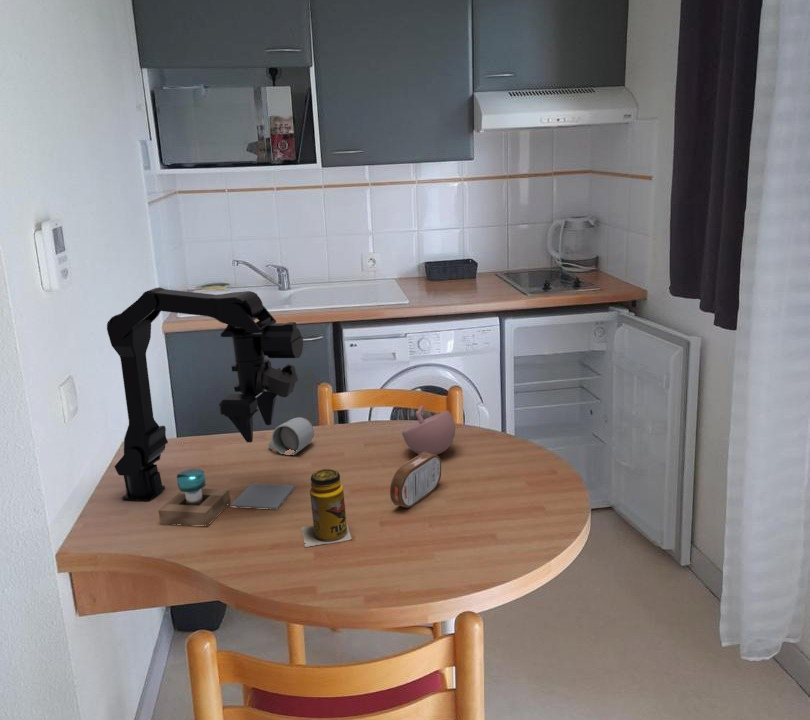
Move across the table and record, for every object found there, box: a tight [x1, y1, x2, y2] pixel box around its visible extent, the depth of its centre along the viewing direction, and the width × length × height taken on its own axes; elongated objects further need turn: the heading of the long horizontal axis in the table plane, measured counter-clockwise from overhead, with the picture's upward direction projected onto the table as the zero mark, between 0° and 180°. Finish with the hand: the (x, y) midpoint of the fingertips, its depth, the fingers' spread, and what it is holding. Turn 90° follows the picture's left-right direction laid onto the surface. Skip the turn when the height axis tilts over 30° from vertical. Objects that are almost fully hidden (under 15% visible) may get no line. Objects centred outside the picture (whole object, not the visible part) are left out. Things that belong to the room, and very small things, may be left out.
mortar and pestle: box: [401, 405, 456, 456], centre depth 168 cm, size 12×12×12 cm
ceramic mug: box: [267, 416, 315, 456], centre depth 177 cm, size 11×8×8 cm
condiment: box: [300, 468, 353, 548], centre depth 136 cm, size 7×8×12 cm
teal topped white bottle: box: [176, 468, 207, 506], centre depth 148 cm, size 5×5×8 cm
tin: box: [389, 452, 442, 509], centre depth 148 cm, size 15×3×8 cm, turn 145°
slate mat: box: [230, 483, 296, 509], centre depth 154 cm, size 10×10×1 cm
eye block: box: [158, 488, 232, 527], centre depth 148 cm, size 10×10×3 cm
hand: (259, 433), depth 148 cm, fingers open, 9 cm apart
